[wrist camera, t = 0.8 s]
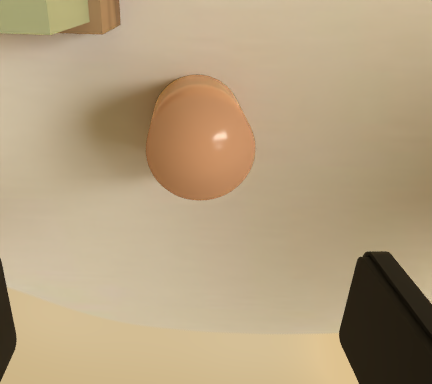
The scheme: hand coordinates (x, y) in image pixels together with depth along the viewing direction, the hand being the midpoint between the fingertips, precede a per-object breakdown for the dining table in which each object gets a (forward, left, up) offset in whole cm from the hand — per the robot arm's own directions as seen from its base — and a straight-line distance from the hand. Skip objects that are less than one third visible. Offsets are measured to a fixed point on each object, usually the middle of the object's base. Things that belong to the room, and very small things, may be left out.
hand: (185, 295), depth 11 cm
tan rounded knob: (-1, 0, -17) cm, 17 cm away
